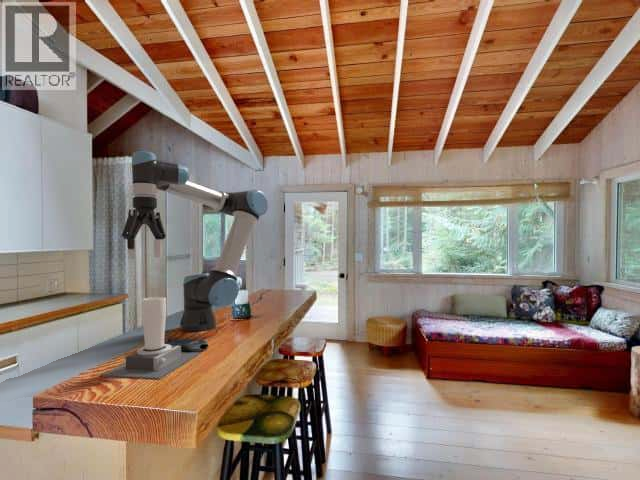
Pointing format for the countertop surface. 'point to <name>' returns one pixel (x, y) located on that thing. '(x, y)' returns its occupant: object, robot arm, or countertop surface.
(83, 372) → the countertop surface
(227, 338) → the countertop surface
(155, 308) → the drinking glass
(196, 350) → the electronic device
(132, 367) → the flat gray baseplate
